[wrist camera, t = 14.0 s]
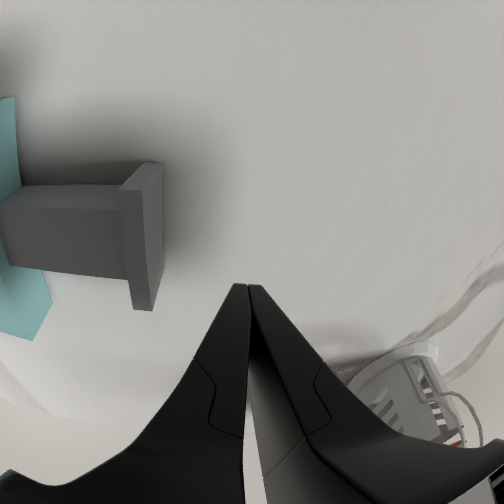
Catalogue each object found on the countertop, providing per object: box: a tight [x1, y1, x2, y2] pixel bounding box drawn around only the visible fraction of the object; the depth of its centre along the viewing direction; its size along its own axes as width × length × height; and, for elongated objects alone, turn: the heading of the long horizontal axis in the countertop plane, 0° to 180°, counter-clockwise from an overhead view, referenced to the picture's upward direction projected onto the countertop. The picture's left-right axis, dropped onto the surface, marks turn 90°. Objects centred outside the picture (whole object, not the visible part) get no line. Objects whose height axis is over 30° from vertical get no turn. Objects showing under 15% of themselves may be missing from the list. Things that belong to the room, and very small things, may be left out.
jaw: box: [0, 96, 165, 341], centre depth 10 cm, size 11×12×3 cm
